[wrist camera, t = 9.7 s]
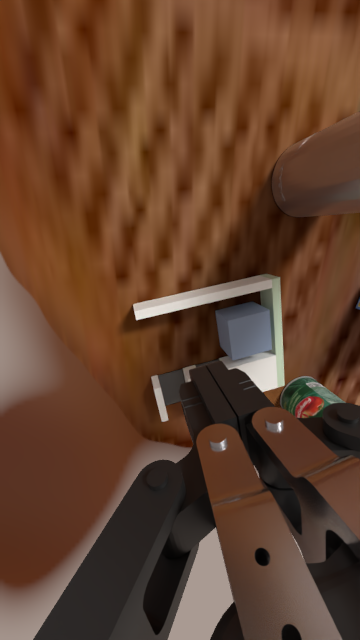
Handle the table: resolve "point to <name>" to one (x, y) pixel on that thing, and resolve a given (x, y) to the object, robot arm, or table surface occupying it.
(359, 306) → the ink cartridge box
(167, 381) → the white open shelf
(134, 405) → the table surface
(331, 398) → the canned tomato
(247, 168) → the table surface
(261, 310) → the block
